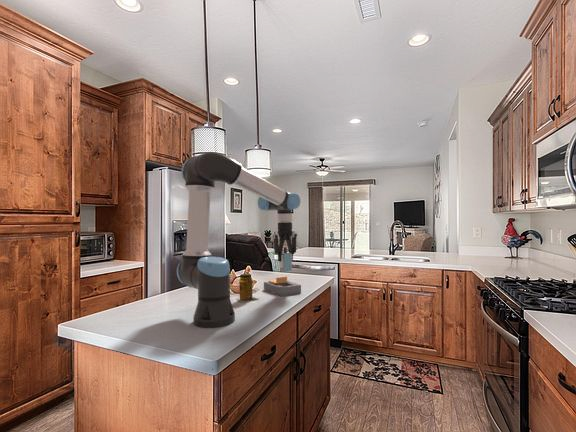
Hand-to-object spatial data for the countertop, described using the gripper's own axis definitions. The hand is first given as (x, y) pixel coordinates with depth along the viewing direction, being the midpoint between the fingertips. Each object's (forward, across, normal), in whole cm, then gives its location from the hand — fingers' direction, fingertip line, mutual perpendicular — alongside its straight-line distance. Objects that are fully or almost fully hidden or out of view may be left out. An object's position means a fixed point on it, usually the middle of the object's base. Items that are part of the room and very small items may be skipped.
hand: (285, 267), depth 161 cm
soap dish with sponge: (+13, 0, -4) cm, 14 cm away
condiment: (+13, +22, +1) cm, 26 cm away
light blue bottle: (+2, 0, 0) cm, 2 cm away
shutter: (+9, 0, -7) cm, 11 cm away
